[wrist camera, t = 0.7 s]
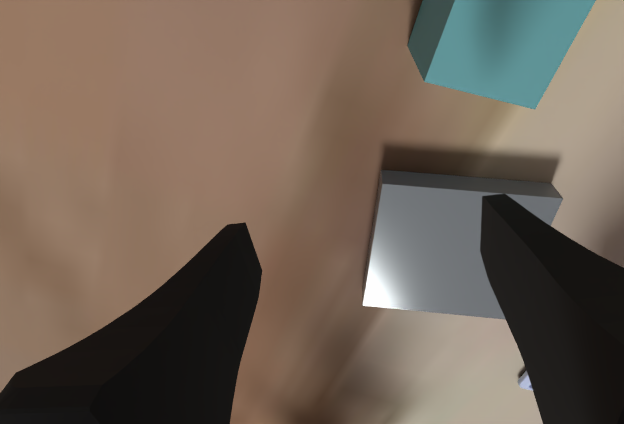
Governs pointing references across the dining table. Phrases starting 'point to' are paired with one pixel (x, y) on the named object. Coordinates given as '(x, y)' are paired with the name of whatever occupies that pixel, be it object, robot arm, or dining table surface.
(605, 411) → the robot arm
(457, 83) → the teal block
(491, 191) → the gray block
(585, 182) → the dining table surface
